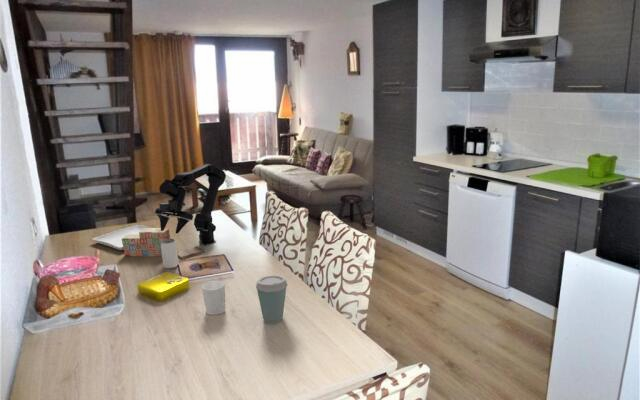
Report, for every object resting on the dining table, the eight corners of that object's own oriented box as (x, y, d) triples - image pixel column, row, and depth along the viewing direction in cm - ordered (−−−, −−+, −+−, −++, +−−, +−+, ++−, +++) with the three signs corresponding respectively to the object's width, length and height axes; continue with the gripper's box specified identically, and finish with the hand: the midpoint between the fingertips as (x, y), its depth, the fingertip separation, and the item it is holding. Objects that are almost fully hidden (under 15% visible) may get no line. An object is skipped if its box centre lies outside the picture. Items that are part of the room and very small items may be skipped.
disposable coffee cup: (254, 315, 159) (251, 276, 155) (283, 308, 163) (281, 270, 159) (263, 330, 150) (260, 288, 146) (294, 322, 154) (291, 281, 150)
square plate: (137, 230, 260) (137, 223, 259) (167, 238, 245) (166, 231, 244) (91, 244, 239) (90, 237, 238) (121, 254, 224) (119, 246, 223)
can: (165, 263, 209) (162, 238, 206) (180, 262, 209) (176, 238, 206) (162, 269, 202) (158, 243, 199) (176, 268, 203) (173, 242, 200)
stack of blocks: (124, 256, 220) (120, 232, 217) (130, 251, 226) (126, 228, 223) (166, 256, 218) (163, 231, 215) (172, 251, 224) (169, 227, 221)
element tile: (168, 280, 192) (167, 269, 191) (191, 288, 183) (190, 277, 182) (136, 294, 180) (135, 283, 179) (160, 303, 172) (158, 292, 170)
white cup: (231, 306, 166) (228, 281, 164) (219, 317, 159) (217, 291, 156) (212, 304, 169) (209, 279, 166) (200, 314, 162) (197, 288, 159)
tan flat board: (196, 248, 227) (196, 245, 226) (204, 252, 221) (204, 249, 221) (174, 254, 219) (173, 252, 219) (181, 259, 213) (181, 256, 213)
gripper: (150, 193, 211) (141, 226, 207) (181, 196, 202) (171, 231, 199) (167, 199, 220) (159, 231, 217) (197, 203, 212) (189, 235, 209)
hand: (169, 232), depth 210 cm, fingers open, 9 cm apart
